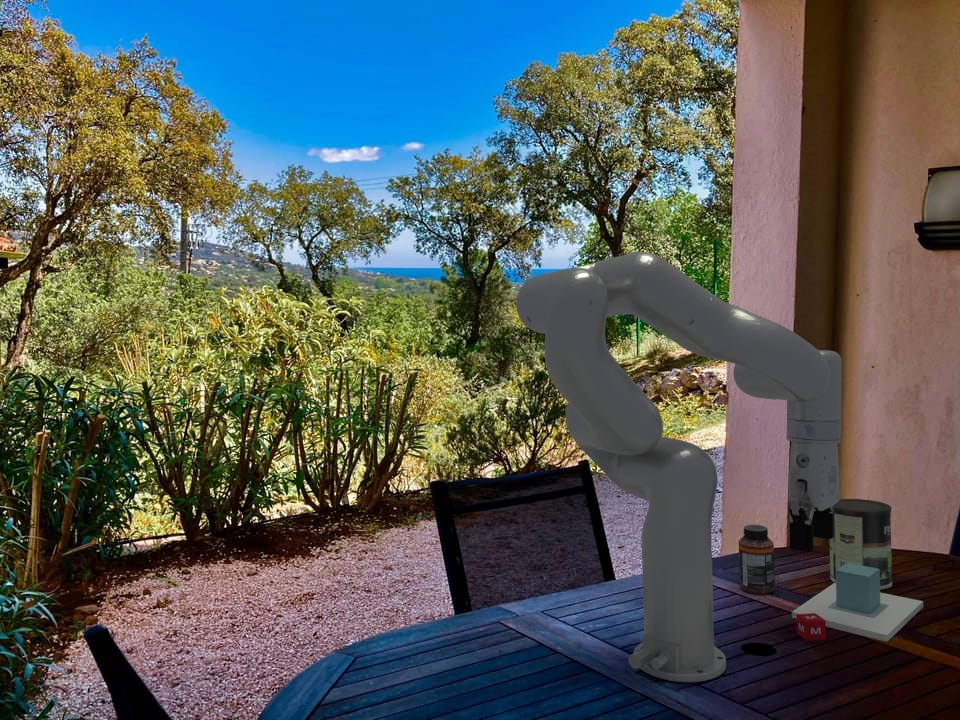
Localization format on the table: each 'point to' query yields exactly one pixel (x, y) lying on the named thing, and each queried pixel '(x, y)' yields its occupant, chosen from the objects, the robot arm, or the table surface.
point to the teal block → (858, 588)
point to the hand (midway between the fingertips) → (811, 543)
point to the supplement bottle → (756, 560)
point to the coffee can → (862, 537)
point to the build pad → (863, 614)
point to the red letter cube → (811, 627)
